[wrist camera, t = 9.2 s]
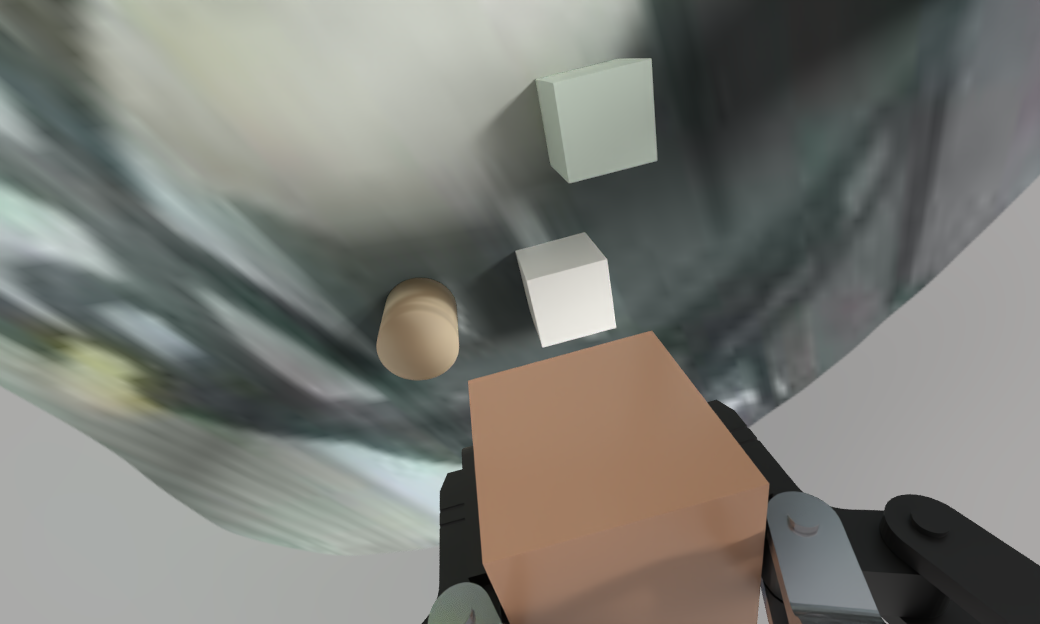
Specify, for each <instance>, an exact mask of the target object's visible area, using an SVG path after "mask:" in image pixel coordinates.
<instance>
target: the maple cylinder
mask: <svg viewBox="0 0 1040 624" xmlns="http://www.w3.org/2000/svg"><path fill="white" fill-rule="evenodd" d="M376 346H377V354H378V356H379V359H380V361H381V362H382V364H383V365H384V366H385V367H386V368H387V369H388V370H389V371H390V372H392V373H393V374H395V375H397V376H399V377H402V378H405V379H410V380H427V379H431V378H434V377H437V376H439V375H441V374H443V373H444V372H446V371H447V370H448V369H449V368H450V367H451V366H452V365H453V363H454V362H455V360H456V358H457V356H458V352H459V337H458V320H457V305H456V301H455V298H454V296H453V294H452V293H451V292H450V290H449V289H448V288H447V287H446V286H444V285H443V284H441V283H440V282H438V281H435V280H432V279H429V278H412V279H408V280H405V281H403V282H401V283H400V284H398V285H397V286H396V287H394V288H393V289H392V291H391V292H390V293H389V295H388V297H387V300H386V304H385V308H384V312H383V317H382V321H381V325H380V330H379V334H378V338H377V345H376Z"/></svg>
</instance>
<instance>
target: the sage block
mask: <svg viewBox="0 0 1040 624" xmlns="http://www.w3.org/2000/svg"><path fill="white" fill-rule="evenodd" d="M535 80H536V86H537V92H538V98H539V103H540V109H541V115H542V120H543V126H544V132H545V137H546V143H547V149H548V154H549V160H550V165H551V166H552V167H553V168H554V169H555V170H556V171H557V172H558V173H559V174H560V175H561V176H562V177H563V178H564V179H565V180H566V181H567V182H568V183H573V182H577V181H581V180H585V179H589V178H592V177H596V176H600V175H604V174H608V173H612V172H616V171H620V170H623V169H627V168H631V167H635V166H639V165H643V164H647V163H651V162H654V161H657V145H656V128H655V111H654V94H653V77H652V60H651V58H630V59H614V60H610V61H606V62H602V63H598V64H594V65H590V66H586V67H582V68H578V69H574V70H570V71H566V72H563V73H559V74H555V75H551V76H547V77H543V78H539V79H535Z"/></svg>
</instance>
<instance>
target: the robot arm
mask: <svg viewBox="0 0 1040 624" xmlns="http://www.w3.org/2000/svg"><path fill="white" fill-rule="evenodd" d="M707 403H708V404H709V406H710V407H711V408H712V410H713V411H714V412H715V413H716V415H717V416H718V417H719V419H720V420H721V421H722V423H723V424H724V425H725V426H726V428H727V429H728V430H729V432H730V433H731V434H732V436H733V437H734V438H735V440H736V441H737V442H738V443H739V445H740V446H741V447H742V449H743V450H744V451H745V453H746V454H747V455H748V456H749V458H750V459H751V460H752V462H753V463H754V464H755V466H756V467H757V468H758V469H759V471H760V472H761V473H762V475H763V476H764V477H765V479H766V480H767V481H768V483H769V495H768V507H767V518H766V529H765V540H764V551H763V562H762V574H761V585H760V586H761V591H762V595H763V600H764V604H765V608H766V613H767V617H768V622H769V624H886V623H885V622H884V621H883V619H885V620H886V621H887V622H888V623H889V624H1040V566H1039V565H1038V564H1036V563H1034V562H1033V561H1032V560H1030V559H1029V558H1027V557H1026V556H1024V555H1023V554H1021V553H1019V552H1018V551H1016V550H1015V549H1014V548H1012V547H1010V546H1009V545H1007V544H1006V543H1004V542H1003V541H1001V540H1000V539H998V538H997V537H995V536H994V535H992V534H991V533H989V532H988V531H986V530H985V529H983V528H982V527H980V526H979V525H977V524H976V523H974V522H973V521H971V520H969V519H968V518H966V517H965V516H963V515H962V514H960V513H959V512H957V511H956V510H954V509H953V508H951V507H949V506H948V505H946V504H944V503H942V502H940V501H938V500H935V499H932V498H929V497H925V496H921V495H911V494H909V495H900V496H896V497H894V498H892V499H891V500H890V501H889V502H888V503H887V504H886V506H885V510H884V511H878V510H848V509H839V508H834V507H831V506H829V505H828V504H826V503H825V502H824V501H822V500H820V499H819V498H817V497H814V496H812V495H809V494H806V493H803V492H802V491H801V490H800V489H799V488H798V487H797V486H796V484H795V483H794V482H793V481H792V480H791V478H790V477H789V476H788V475H787V474H786V473H785V471H784V470H783V469H782V468H781V466H780V465H779V464H778V463H777V461H776V460H775V459H774V458H773V457H772V455H771V454H770V453H769V452H768V451H767V449H766V448H765V447H764V446H763V445H762V443H761V442H760V441H758V440H757V437H756V436H755V435H754V434H753V432H752V431H751V430H750V429H749V428H747V425H746V424H745V423H744V422H743V420H742V419H741V418H740V417H739V416H738V414H737V413H736V412H735V411H734V410H733V409H731V408H729V407H728V406H726V405H724V404H723V403H721V402H719V401H718V400H714V401H710V402H707ZM462 468H463V469H462V470H458V471H455V472H451V473H448V474H447V476H446V478H445V481H444V483H443V485H442V488H441V490H440V573H439V574H440V576H439V577H440V578H439V581H440V582H439V593H438V597H437V600H436V601H435V603H434V605H433V607H432V609H431V611H430V614H429V616H428V617H427V618H426V619H425V620H424V622H423V623H422V624H510V623H509V620H508V618H507V616H506V614H505V612H504V609H503V607H502V605H501V603H500V601H499V599H498V596H497V594H496V592H495V590H494V588H493V586H492V583H491V581H490V579H489V577H488V575H487V573H486V570H485V568H484V566H483V562H482V549H481V537H480V524H479V512H478V499H477V486H476V474H475V461H474V449H473V446H470V447H467V448H463V449H462ZM881 617H882V618H883V619H882V618H881Z"/></svg>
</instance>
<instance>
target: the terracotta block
mask: <svg viewBox="0 0 1040 624" xmlns="http://www.w3.org/2000/svg"><path fill="white" fill-rule="evenodd" d="M468 386H469V398H470V411H471V423H472V436H473V449H474V461H475V474H476V486H477V499H478V512H479V524H480V537H481V549H482V562H483V566H484V568H485V570H486V573H487V575H488V577H489V579H490V581H491V583H492V586H493V588H494V590H495V592H496V594H497V596H498V599H499V601H500V603H501V605H502V607H503V609H504V612H505V614H506V616H507V618H508V620H509V623H510V624H757V617H758V607H759V596H760V585H761V574H762V562H763V551H764V540H765V529H766V518H767V507H768V495H769V483H768V481H767V480H766V479H765V477H764V476H763V475H762V473H761V472H760V471H759V469H758V468H757V467H756V466H755V464H754V463H753V462H752V460H751V459H750V458H749V456H748V455H747V454H746V453H745V451H744V450H743V449H742V447H741V446H740V445H739V443H738V442H737V441H736V440H735V438H734V437H733V436H732V434H731V433H730V432H729V430H728V429H727V428H726V426H725V425H724V424H723V423H722V421H721V420H720V419H719V417H718V416H717V415H716V413H715V412H714V411H713V410H712V408H711V407H710V406H709V404H708V403H707V402H706V400H705V399H704V398H703V397H702V395H701V394H700V393H699V391H698V390H697V389H696V387H695V386H694V385H693V383H692V382H691V381H690V380H689V378H688V377H687V376H686V374H685V373H684V372H683V370H682V369H681V368H680V367H679V365H678V364H677V363H676V361H675V360H674V359H673V357H672V356H671V355H670V353H669V352H668V351H667V350H666V348H665V347H664V346H663V344H662V343H661V342H660V340H659V339H658V338H657V337H656V335H655V334H654V333H653V331H649V332H645V333H641V334H638V335H634V336H630V337H627V338H623V339H619V340H616V341H612V342H608V343H605V344H601V345H597V346H594V347H590V348H586V349H583V350H579V351H575V352H572V353H568V354H564V355H561V356H557V357H553V358H550V359H546V360H542V361H539V362H535V363H531V364H528V365H524V366H520V367H517V368H513V369H509V370H506V371H502V372H498V373H495V374H491V375H487V376H484V377H480V378H476V379H473V380H469V381H468Z"/></svg>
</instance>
